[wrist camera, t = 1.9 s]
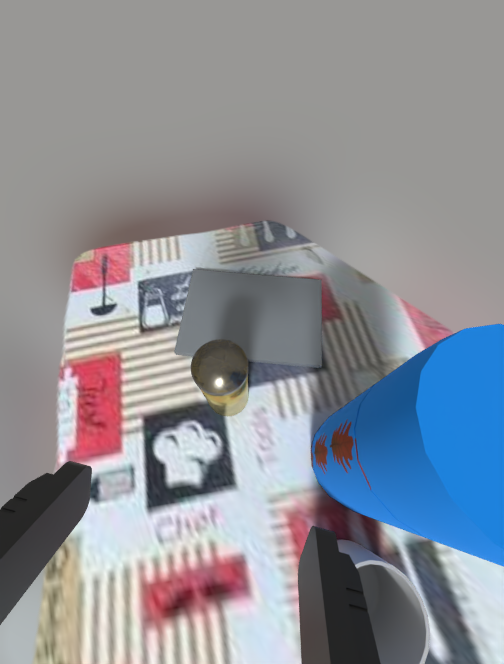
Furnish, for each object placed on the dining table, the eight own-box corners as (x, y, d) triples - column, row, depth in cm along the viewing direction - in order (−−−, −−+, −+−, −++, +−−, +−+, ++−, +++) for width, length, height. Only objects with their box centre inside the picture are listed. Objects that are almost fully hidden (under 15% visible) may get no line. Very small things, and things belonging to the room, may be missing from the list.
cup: (389, 561, 31) (439, 592, 23) (360, 681, 27) (407, 770, 19) (325, 524, 32) (350, 541, 24) (288, 633, 28) (303, 697, 20)
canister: (250, 377, 39) (251, 341, 29) (246, 419, 37) (245, 396, 26) (211, 374, 40) (196, 336, 29) (204, 414, 37) (185, 390, 26)
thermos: (306, 411, 37) (392, 317, 15) (390, 413, 37) (602, 322, 15) (312, 510, 33) (449, 591, 10) (408, 512, 33) (758, 599, 10)
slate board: (319, 283, 46) (321, 279, 45) (320, 368, 40) (322, 365, 39) (194, 273, 47) (193, 269, 46) (176, 354, 41) (174, 351, 40)
